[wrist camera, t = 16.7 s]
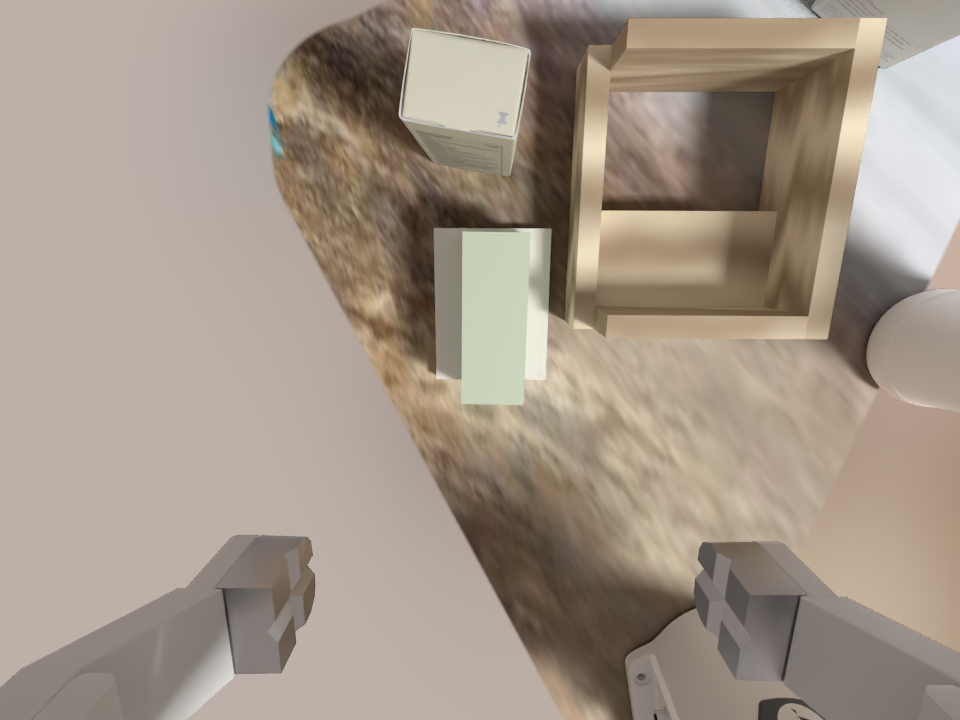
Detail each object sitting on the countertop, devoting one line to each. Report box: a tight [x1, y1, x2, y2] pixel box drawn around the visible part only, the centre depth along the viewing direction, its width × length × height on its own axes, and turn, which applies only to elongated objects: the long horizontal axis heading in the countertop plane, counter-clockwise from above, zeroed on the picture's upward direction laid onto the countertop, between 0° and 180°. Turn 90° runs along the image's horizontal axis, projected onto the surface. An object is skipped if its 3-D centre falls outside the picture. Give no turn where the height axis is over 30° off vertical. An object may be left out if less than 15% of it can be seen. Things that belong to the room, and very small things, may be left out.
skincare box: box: [398, 28, 531, 176], centre depth 29 cm, size 6×4×12 cm
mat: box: [434, 228, 552, 380], centre depth 37 cm, size 12×9×1 cm
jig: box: [565, 18, 887, 339], centre depth 32 cm, size 18×16×8 cm
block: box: [461, 231, 531, 405], centre depth 34 cm, size 12×4×5 cm, turn 179°
